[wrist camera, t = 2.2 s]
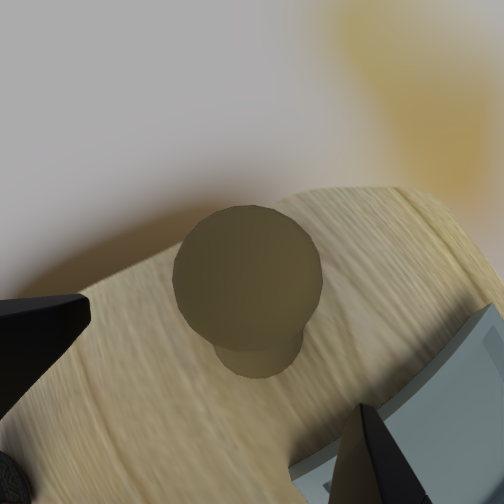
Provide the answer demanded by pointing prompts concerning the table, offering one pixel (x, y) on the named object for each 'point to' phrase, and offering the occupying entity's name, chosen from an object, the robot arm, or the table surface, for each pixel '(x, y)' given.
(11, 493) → the mate gourd
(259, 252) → the cork
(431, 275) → the table surface
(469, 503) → the slate tray
